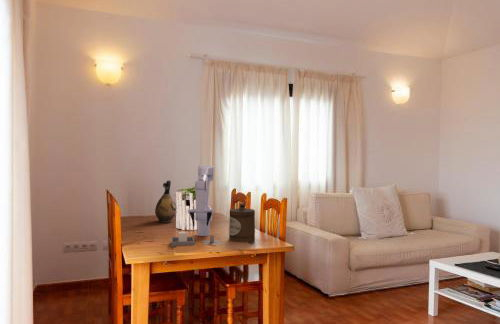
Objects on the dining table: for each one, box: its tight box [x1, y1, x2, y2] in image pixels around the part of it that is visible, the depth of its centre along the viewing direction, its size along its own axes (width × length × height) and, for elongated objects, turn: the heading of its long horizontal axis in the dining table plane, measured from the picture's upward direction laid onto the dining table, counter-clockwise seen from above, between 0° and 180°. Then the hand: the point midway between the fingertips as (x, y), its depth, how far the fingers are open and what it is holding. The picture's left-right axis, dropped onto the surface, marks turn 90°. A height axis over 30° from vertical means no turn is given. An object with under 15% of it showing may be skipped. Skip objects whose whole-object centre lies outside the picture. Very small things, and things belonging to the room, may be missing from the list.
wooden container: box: [228, 202, 256, 244], centre depth 230 cm, size 15×15×22 cm
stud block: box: [201, 234, 223, 246], centre depth 220 cm, size 12×10×5 cm
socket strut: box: [178, 231, 188, 242], centre depth 218 cm, size 4×4×6 cm
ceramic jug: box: [154, 180, 177, 223], centre depth 292 cm, size 17×15×30 cm
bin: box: [170, 236, 195, 249], centre depth 218 cm, size 12×12×3 cm
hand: (200, 225), depth 225 cm, fingers open, 7 cm apart
